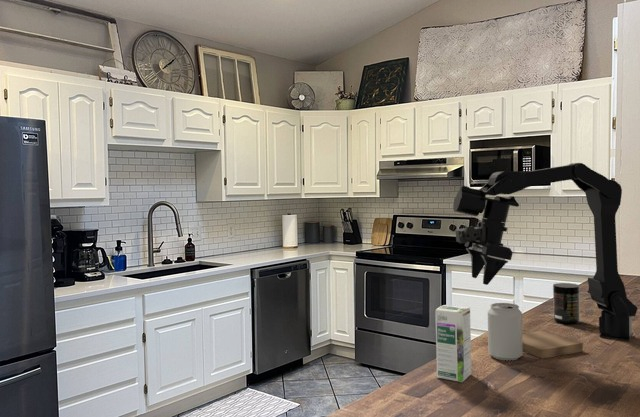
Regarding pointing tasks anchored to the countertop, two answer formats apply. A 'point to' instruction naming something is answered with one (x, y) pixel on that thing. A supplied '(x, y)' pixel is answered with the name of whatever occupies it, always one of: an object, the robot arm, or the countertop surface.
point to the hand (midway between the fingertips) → (479, 280)
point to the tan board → (549, 344)
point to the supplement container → (566, 303)
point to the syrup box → (453, 342)
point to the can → (505, 331)
